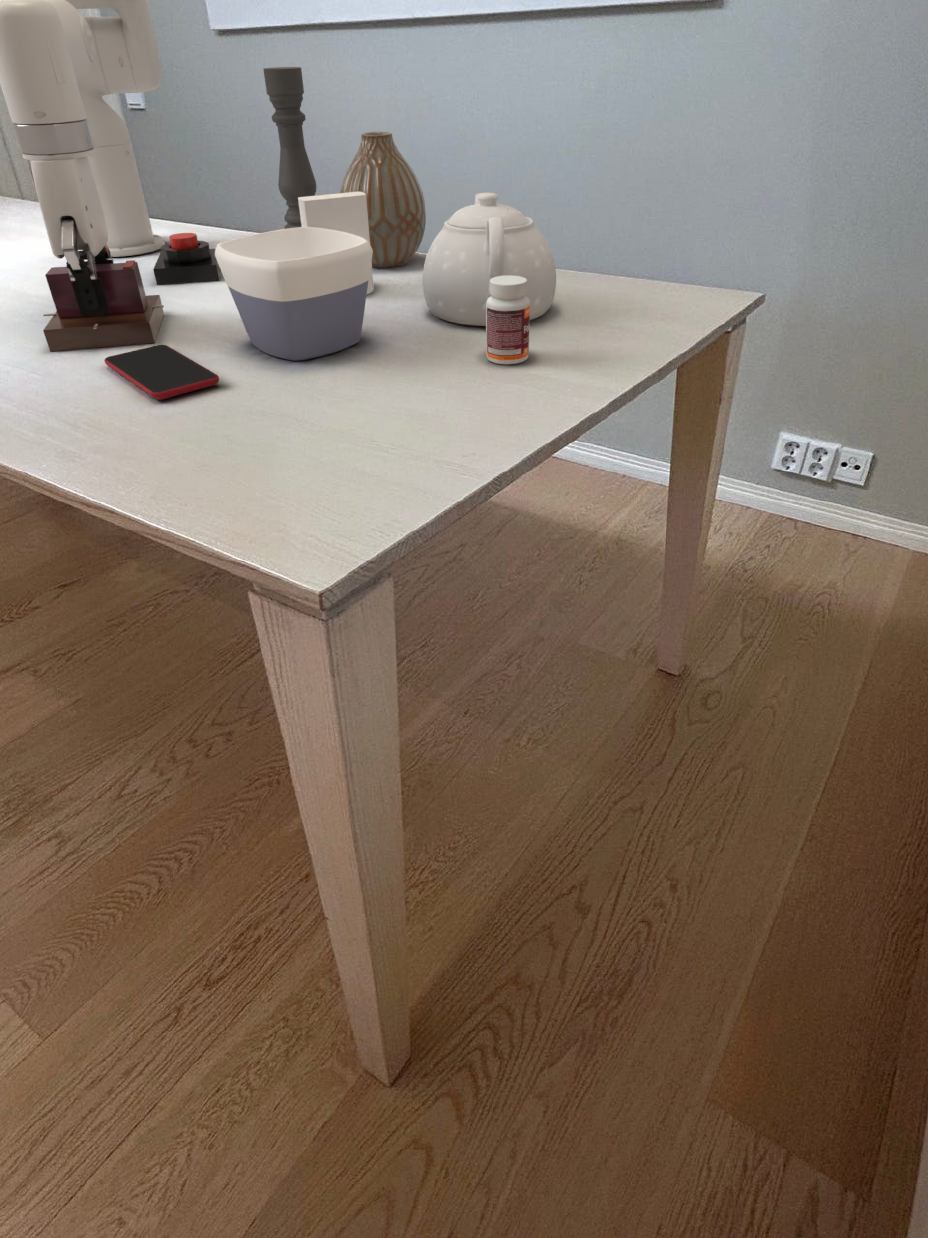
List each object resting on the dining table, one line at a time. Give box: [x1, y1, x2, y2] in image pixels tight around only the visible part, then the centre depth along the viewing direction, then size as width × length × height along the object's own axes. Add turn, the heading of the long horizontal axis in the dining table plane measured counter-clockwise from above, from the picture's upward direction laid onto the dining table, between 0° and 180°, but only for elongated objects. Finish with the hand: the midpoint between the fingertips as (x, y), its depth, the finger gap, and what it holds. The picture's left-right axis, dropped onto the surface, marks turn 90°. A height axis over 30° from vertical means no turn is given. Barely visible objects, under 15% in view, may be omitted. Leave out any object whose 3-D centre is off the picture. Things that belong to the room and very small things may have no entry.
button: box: [168, 232, 199, 249], centre depth 120 cm, size 4×4×2 cm
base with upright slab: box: [298, 192, 375, 295], centre depth 109 cm, size 9×9×12 cm
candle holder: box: [262, 66, 318, 229], centre depth 127 cm, size 6×6×25 cm
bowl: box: [214, 227, 373, 362], centre depth 91 cm, size 15×15×11 cm
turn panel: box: [42, 294, 165, 352], centre depth 99 cm, size 14×14×3 cm
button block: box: [152, 239, 222, 286], centre depth 121 cm, size 11×9×4 cm
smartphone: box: [103, 344, 220, 401], centre depth 87 cm, size 7×1×15 cm
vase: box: [339, 131, 427, 269], centre depth 120 cm, size 13×13×18 cm
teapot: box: [422, 192, 557, 327], centre depth 100 cm, size 19×18×14 cm
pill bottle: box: [485, 275, 531, 365], centre depth 87 cm, size 5×5×8 cm
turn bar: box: [44, 259, 148, 318], centre depth 97 cm, size 10×4×5 cm, turn 101°
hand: (102, 303), depth 98 cm, fingers open, 8 cm apart
